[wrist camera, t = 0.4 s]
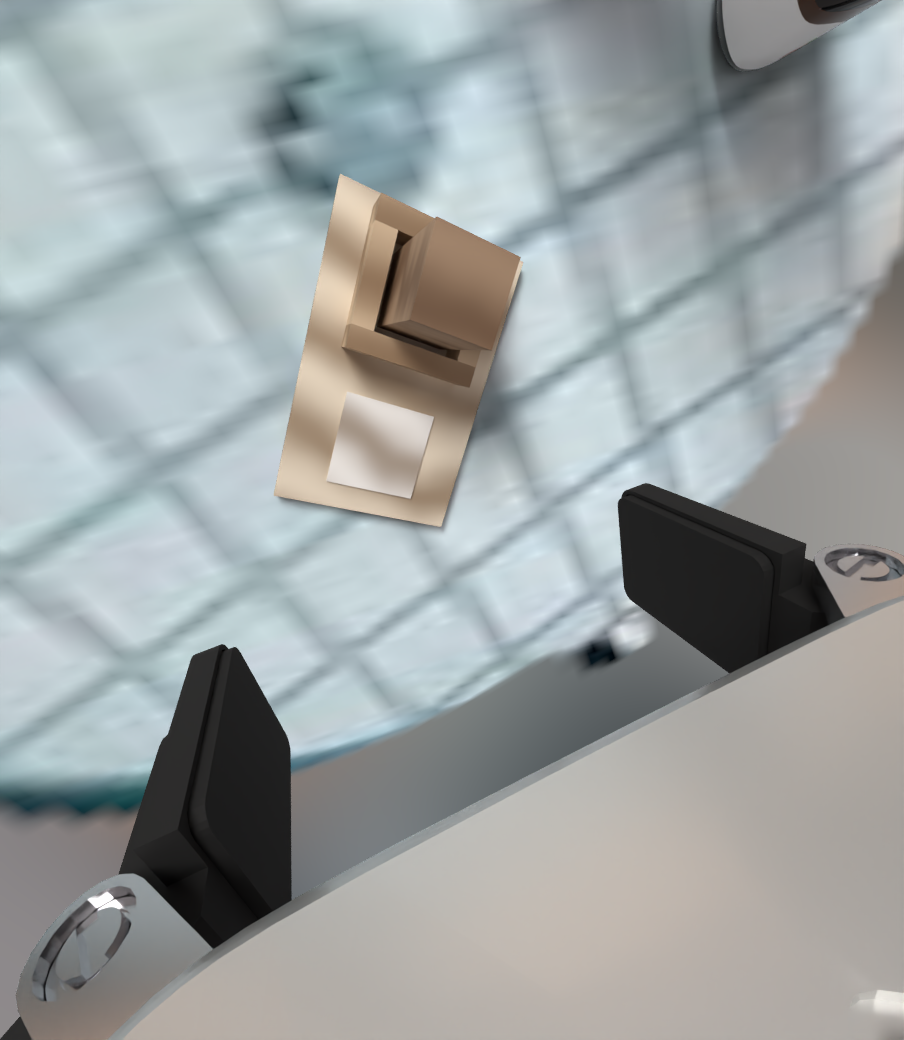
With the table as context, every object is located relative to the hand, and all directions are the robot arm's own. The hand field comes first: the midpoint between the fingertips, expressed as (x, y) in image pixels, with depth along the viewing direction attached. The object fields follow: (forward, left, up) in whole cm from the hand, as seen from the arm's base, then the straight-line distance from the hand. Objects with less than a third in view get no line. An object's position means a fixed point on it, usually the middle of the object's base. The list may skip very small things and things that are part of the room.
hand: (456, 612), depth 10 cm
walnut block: (-10, +4, -27) cm, 29 cm away
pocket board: (-5, +4, -28) cm, 29 cm away
